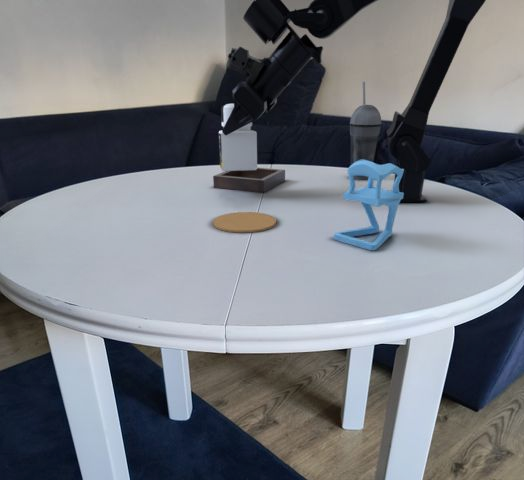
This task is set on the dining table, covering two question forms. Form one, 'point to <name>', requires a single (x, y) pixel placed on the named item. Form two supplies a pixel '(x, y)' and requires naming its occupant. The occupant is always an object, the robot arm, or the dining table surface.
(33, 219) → the dining table surface
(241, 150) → the medicine bottle
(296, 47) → the robot arm
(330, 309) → the dining table surface
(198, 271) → the dining table surface
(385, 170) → the chair
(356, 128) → the beverage cup
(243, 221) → the cork coaster
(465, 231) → the dining table surface
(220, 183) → the bottle holder
